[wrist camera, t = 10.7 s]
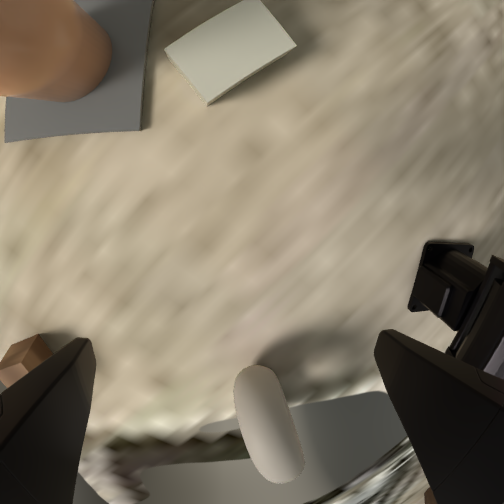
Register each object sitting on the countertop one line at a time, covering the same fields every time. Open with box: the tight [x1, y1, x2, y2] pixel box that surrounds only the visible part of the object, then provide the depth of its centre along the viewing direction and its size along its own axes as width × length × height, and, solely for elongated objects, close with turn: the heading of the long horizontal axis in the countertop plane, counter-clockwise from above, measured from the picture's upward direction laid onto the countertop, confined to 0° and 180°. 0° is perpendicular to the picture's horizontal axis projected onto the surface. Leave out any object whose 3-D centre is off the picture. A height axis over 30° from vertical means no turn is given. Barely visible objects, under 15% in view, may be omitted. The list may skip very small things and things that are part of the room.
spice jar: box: [0, 0, 112, 102], centre depth 9 cm, size 6×6×14 cm
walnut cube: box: [0, 334, 53, 388], centre depth 21 cm, size 4×4×4 cm
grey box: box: [164, 0, 297, 107], centre depth 16 cm, size 6×4×3 cm, turn 126°
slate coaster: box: [5, 0, 154, 143], centre depth 15 cm, size 10×10×1 cm
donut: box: [233, 365, 305, 484], centre depth 22 cm, size 10×3×10 cm, turn 17°
